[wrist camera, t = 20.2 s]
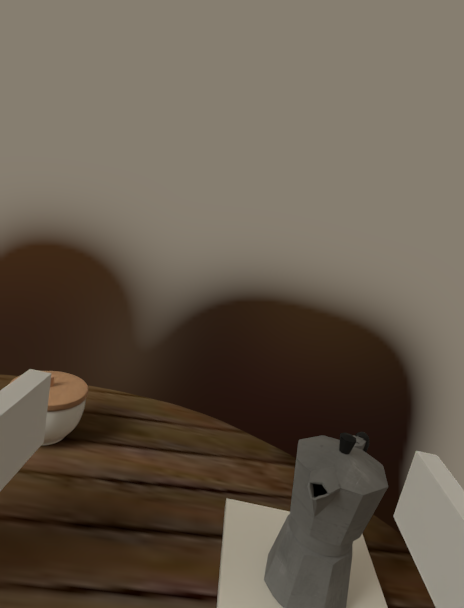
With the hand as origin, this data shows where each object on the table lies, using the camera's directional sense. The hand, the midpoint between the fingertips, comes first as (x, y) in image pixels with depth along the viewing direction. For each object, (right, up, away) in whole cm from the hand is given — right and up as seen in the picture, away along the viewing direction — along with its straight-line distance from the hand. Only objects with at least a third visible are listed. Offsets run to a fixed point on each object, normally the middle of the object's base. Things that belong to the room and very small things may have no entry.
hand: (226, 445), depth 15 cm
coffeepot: (+9, -25, +31) cm, 41 cm away
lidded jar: (-28, -14, +47) cm, 57 cm away
